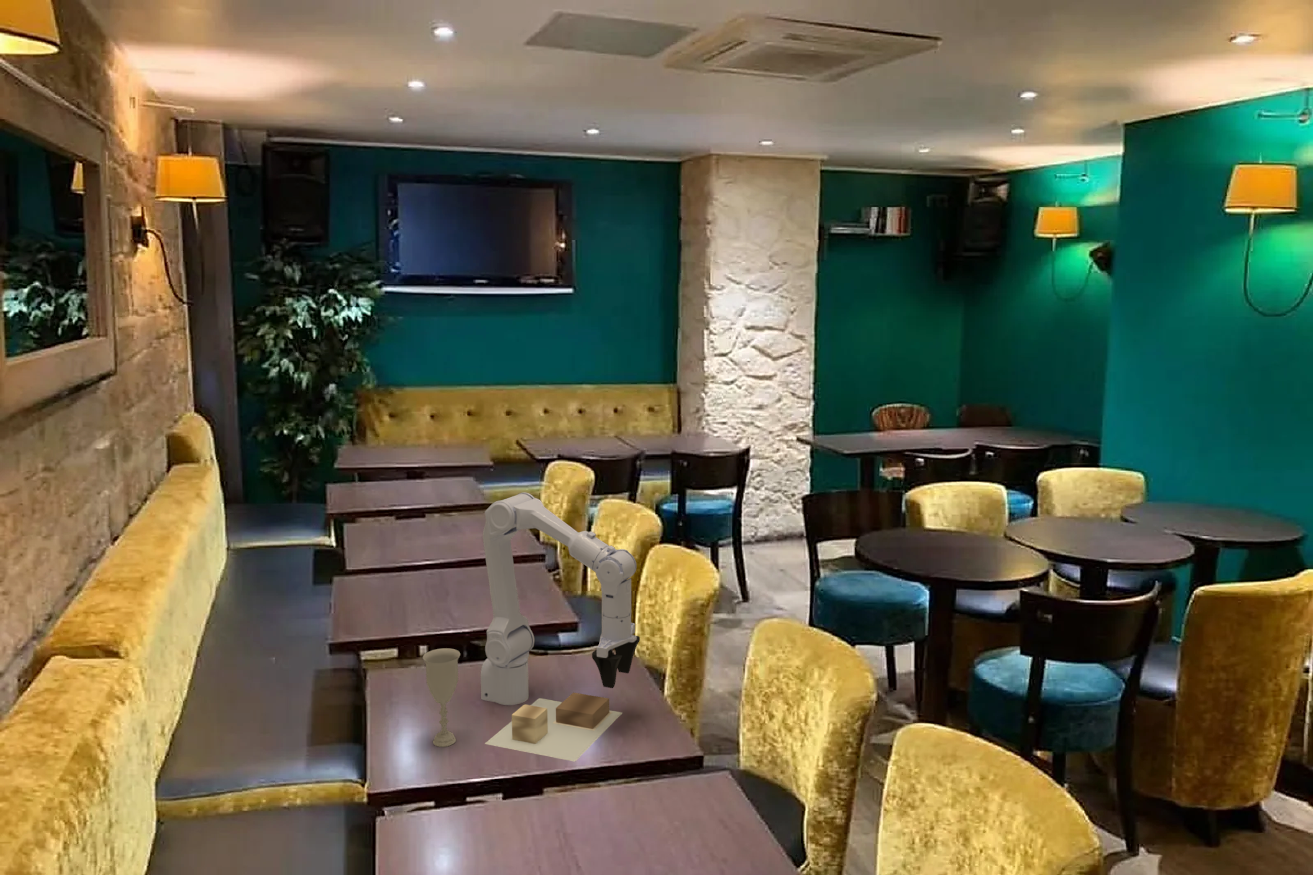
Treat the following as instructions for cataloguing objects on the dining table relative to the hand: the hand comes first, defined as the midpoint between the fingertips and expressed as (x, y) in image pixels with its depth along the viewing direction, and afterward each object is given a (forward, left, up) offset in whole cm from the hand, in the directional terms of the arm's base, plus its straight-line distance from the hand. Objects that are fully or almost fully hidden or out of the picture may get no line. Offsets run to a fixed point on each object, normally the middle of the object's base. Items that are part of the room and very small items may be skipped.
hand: (616, 679), depth 197 cm
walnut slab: (-7, -1, -9) cm, 11 cm away
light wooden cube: (-13, -12, -9) cm, 20 cm away
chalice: (-27, -20, -10) cm, 35 cm away
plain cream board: (-10, -7, -10) cm, 16 cm away
